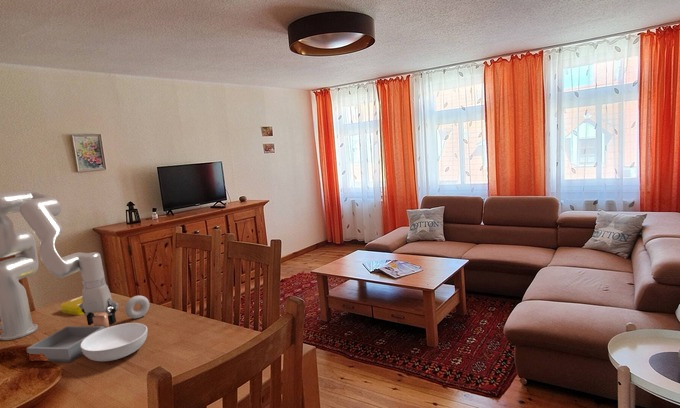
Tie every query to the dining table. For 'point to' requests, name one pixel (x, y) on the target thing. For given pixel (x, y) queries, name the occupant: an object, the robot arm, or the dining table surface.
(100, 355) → the serving bowl
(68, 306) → the element tile
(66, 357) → the bin
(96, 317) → the pinkish-brown rounded piece
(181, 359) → the dining table surface
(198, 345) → the dining table surface
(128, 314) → the donut
